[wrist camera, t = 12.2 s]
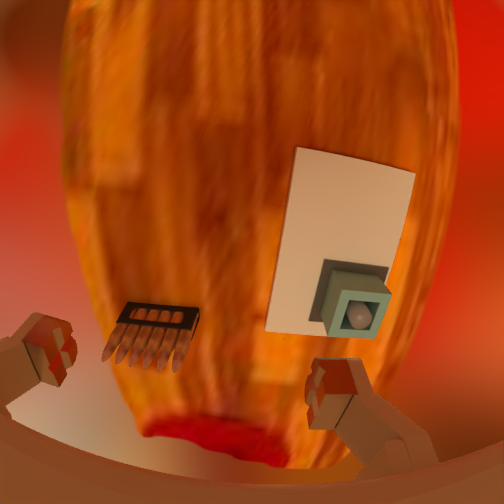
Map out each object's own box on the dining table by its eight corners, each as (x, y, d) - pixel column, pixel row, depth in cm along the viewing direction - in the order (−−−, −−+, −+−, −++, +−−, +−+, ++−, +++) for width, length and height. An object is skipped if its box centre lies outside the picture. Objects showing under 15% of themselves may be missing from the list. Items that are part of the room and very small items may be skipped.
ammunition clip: (199, 307, 41) (181, 367, 30) (199, 318, 42) (183, 379, 31) (127, 301, 41) (93, 354, 30) (129, 312, 42) (97, 366, 31)
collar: (332, 269, 37) (341, 289, 32) (377, 275, 37) (391, 294, 32) (320, 313, 39) (327, 336, 35) (363, 316, 39) (374, 338, 35)
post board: (295, 146, 33) (305, 150, 26) (410, 171, 34) (441, 182, 27) (264, 324, 42) (265, 360, 35) (363, 332, 43) (378, 365, 36)
